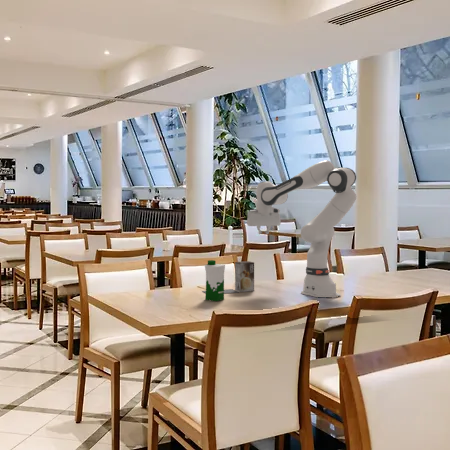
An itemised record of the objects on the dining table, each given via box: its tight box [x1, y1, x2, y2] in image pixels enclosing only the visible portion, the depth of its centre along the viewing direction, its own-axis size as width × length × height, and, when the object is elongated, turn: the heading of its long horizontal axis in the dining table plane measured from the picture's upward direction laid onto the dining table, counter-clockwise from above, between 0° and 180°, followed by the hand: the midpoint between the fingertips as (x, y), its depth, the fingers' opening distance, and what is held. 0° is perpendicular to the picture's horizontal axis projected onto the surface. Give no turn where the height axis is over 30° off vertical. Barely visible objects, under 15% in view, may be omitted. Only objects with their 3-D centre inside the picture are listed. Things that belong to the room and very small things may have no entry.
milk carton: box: [204, 259, 226, 302], centre depth 298 cm, size 9×9×20 cm
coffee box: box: [234, 260, 255, 293], centre depth 326 cm, size 9×6×16 cm
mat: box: [201, 288, 240, 295], centre depth 321 cm, size 10×18×1 cm, turn 113°
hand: (263, 233), depth 336 cm, fingers open, 3 cm apart
